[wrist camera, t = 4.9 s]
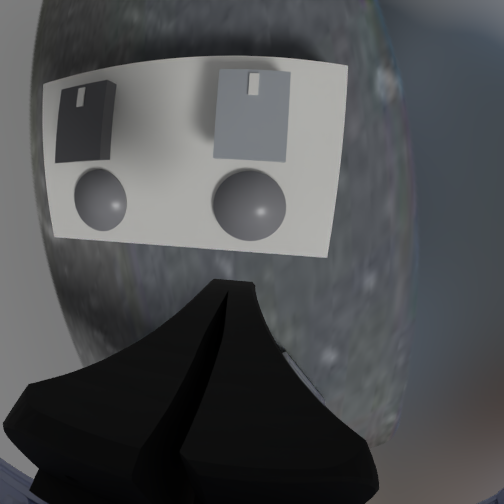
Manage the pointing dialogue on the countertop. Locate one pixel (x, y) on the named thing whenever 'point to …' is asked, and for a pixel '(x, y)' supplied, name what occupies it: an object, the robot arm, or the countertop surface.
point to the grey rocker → (252, 115)
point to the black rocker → (85, 122)
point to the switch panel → (200, 162)
